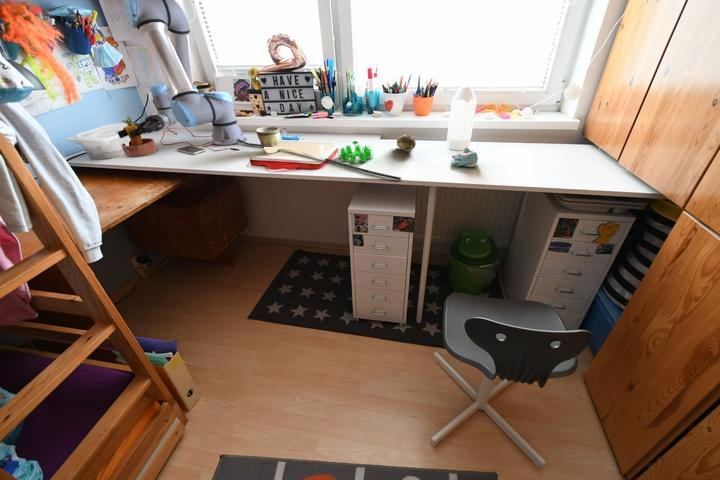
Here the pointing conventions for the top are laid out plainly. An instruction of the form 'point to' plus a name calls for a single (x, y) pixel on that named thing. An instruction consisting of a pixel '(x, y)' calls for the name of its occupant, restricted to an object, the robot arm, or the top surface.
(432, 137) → the top surface
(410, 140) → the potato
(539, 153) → the top surface
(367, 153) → the chandelier
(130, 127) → the carrot
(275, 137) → the ceramic cup
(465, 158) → the stuffed animal
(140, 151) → the bowl
